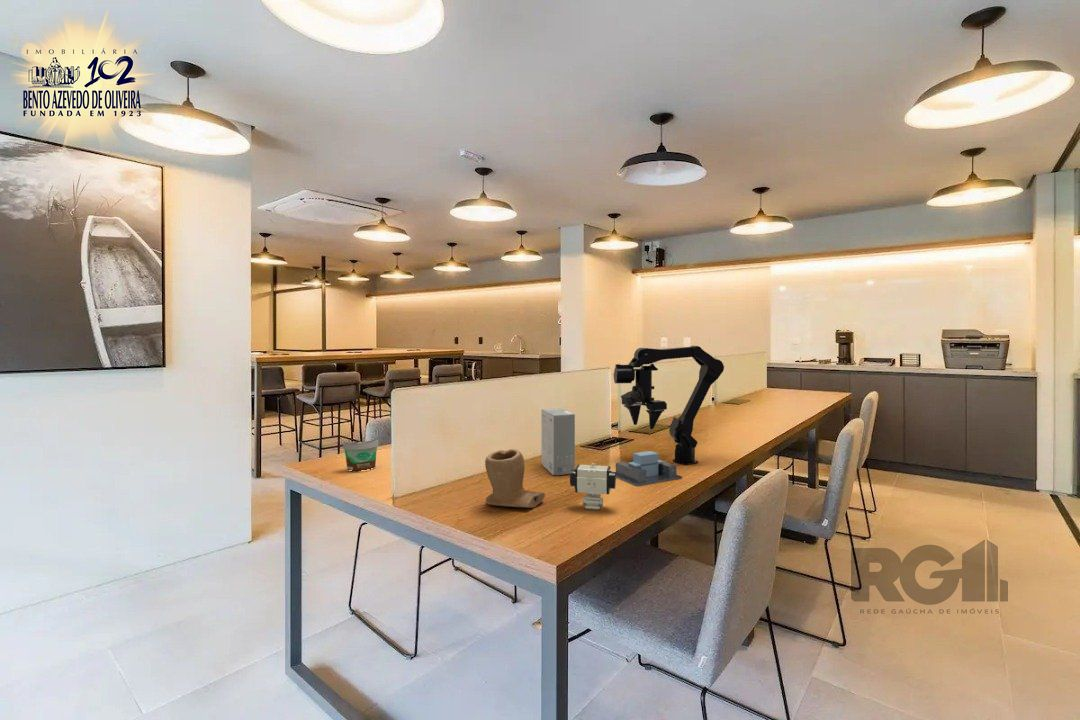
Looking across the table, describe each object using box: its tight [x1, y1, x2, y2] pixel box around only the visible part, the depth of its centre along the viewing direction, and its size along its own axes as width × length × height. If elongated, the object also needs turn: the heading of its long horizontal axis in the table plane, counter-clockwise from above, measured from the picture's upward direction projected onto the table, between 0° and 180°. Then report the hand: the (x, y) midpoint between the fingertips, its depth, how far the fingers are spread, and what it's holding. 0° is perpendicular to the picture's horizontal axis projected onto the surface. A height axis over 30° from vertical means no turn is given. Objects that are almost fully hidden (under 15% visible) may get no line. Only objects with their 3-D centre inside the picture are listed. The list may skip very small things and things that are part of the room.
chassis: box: [615, 460, 683, 487], centre depth 161 cm, size 18×14×4 cm
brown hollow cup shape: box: [484, 448, 546, 509], centre depth 134 cm, size 15×12×15 cm
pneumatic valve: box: [569, 462, 617, 511], centre depth 132 cm, size 6×12×12 cm, turn 77°
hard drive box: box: [540, 408, 576, 476], centre depth 170 cm, size 16×8×20 cm, turn 15°
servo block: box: [627, 450, 663, 477], centre depth 161 cm, size 11×4×7 cm, turn 117°
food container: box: [342, 437, 380, 471], centre depth 171 cm, size 12×6×10 cm, turn 132°
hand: (643, 426), depth 177 cm, fingers open, 9 cm apart
